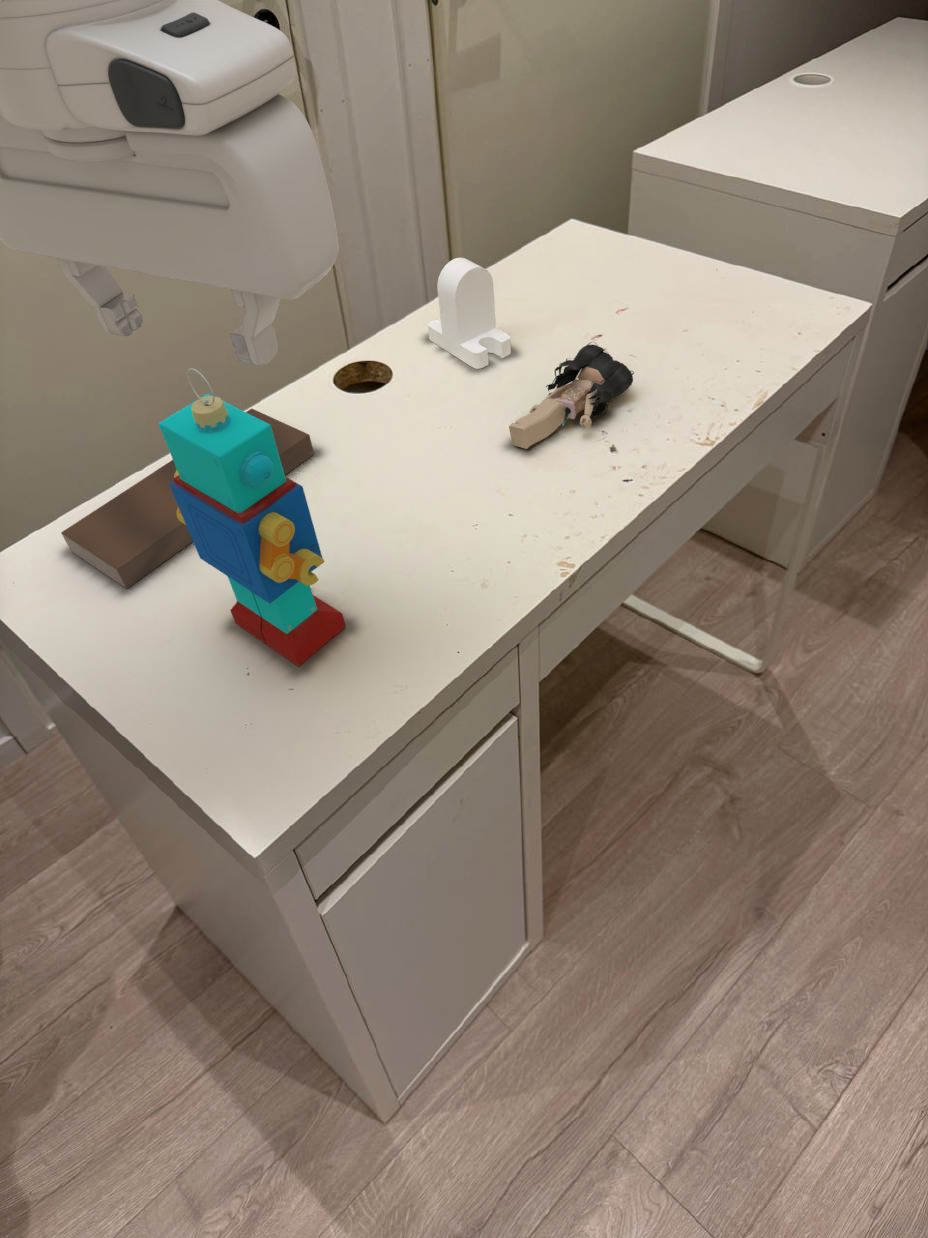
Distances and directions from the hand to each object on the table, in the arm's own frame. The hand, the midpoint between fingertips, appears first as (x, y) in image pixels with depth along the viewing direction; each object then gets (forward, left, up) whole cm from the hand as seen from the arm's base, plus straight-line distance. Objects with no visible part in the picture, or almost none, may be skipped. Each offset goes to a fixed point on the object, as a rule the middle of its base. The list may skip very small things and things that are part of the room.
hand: (189, 343), depth 48 cm
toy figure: (+35, +23, -31) cm, 52 cm away
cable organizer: (+31, +42, -31) cm, 61 cm away
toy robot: (0, +7, -31) cm, 32 cm away
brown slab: (-4, +29, -30) cm, 42 cm away
